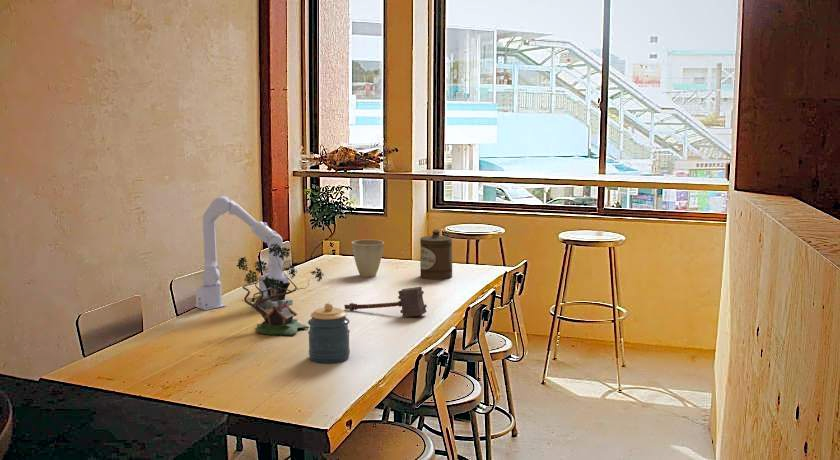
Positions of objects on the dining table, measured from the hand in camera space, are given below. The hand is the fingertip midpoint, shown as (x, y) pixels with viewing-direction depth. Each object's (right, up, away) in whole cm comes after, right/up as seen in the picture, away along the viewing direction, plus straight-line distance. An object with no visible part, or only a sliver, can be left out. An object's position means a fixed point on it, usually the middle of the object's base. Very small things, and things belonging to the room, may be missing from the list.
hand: (276, 298), depth 341 cm
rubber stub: (-4, -4, -7) cm, 9 cm away
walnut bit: (0, -3, 0) cm, 3 cm away
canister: (+29, -13, -71) cm, 78 cm away
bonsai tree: (+10, -9, -43) cm, 45 cm away
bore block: (0, -3, 0) cm, 3 cm away
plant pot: (+33, +6, +57) cm, 66 cm away
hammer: (+43, -5, -14) cm, 46 cm away
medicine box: (-6, 0, +17) cm, 18 cm away
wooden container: (+65, +5, +56) cm, 86 cm away
